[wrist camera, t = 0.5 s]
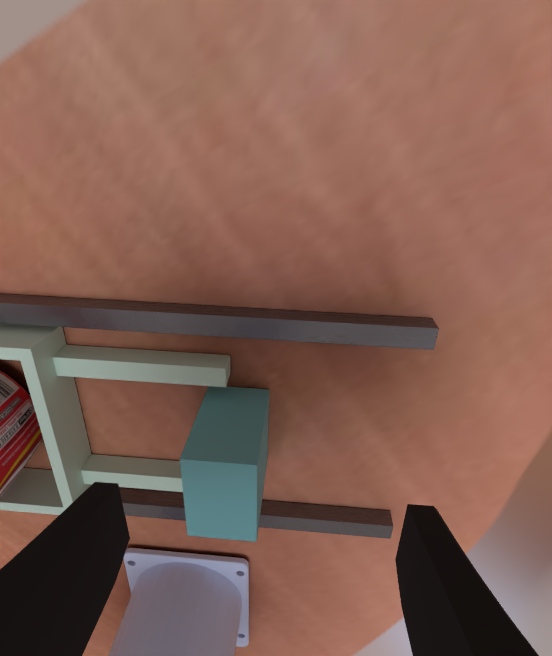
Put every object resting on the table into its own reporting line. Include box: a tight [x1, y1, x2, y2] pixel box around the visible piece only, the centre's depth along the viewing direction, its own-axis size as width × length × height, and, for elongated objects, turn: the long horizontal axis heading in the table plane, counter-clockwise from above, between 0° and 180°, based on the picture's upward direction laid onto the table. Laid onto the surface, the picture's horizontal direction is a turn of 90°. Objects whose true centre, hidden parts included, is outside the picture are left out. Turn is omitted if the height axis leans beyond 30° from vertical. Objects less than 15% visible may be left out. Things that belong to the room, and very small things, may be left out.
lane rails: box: [0, 294, 439, 539], centre depth 21 cm, size 13×25×1 cm, turn 88°
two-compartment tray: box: [0, 323, 269, 542], centre depth 19 cm, size 10×20×5 cm, turn 88°
